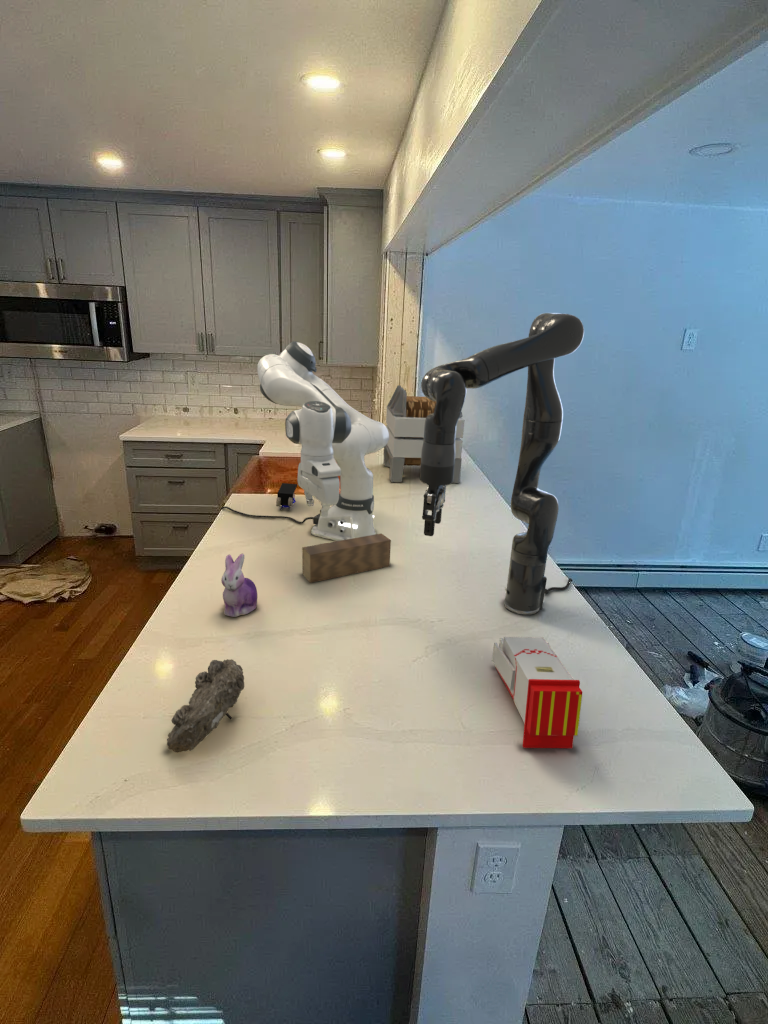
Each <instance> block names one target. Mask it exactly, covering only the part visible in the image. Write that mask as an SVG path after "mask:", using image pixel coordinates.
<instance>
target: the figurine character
mask: <svg viewBox="0 0 768 1024" xmlns="http://www.w3.org/2000/svg"><path fill="white" fill-rule="evenodd" d="M297 487H298V483H286V482H283V483H281V485H280V487H279V489H278V491H277V494H276V495H277V497H276V502H275V503H276V504H275V505H276V507H280V508H279V510H280V511H283V509H287V511H290V509H291V507H293V506H294V504H295V503H296V494H295V492H296V489H297Z"/></svg>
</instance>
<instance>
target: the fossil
mask: <svg viewBox="0 0 768 1024" xmlns="http://www.w3.org/2000/svg"><path fill="white" fill-rule="evenodd" d="M243 670H244V669H243V667H242V665H240V664H237V662H236V661H235V660H234V659H232V658H231V659H227V658H226V659H224V660H223V661H222V660H217V659H212V660H211V661H210V663H209V665H208V666H207V671H201V672H199V673H198V674H197V675H196V676H195V680H194V684H195V685H194V687H195V689H194V690H193V693H192V694H191V697H190V698H189V700H188V704H184V705H182V706H181V707H180V709H177V710H176V711H175V713H174V715H173V716H172V718H171V723H172V724H173V727H172V730H171V731H170V732H168V734H167V738H166V741H167V742H166V745H167V749H168V750H169V751H173V752H174V753H176V754H178V753H182V752H188V751H189V752H192V751H193V750H195V748H196V747H197V746H199V744H200V743H201V742H203V741H204V740H205V739H206V738H207V737H208V736H209V735H210V734H211V733H212V732H214V730H215V729H217V727H218V726H219V724H220V722H221V721H222V720H223V719H224V718H225V716H226V717H227V719H229V720H233V717H232V715H230V714H229V710H230V709H231V708H234V706H235V704H236V703H237V702H238V699H239V697H240V695H241V693H242V691H243V690H245V689H244V688H245V675H244V671H243Z"/></svg>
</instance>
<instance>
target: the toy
mask: <svg viewBox="0 0 768 1024" xmlns="http://www.w3.org/2000/svg"><path fill="white" fill-rule="evenodd" d="M491 662H492V663H493V665H494V667H495V669H496V671H497V673H498V675H499V676H500V678H501V680H502V683H503V684H504V686H505V688H506V689H507V691H508V693H509V695H510V697H511V698H512V700H513V702H514V705H515V707H516V709H517V711H518V713H519V715H520V717H521V719H522V722H523V724H524V725H523V736H522V748H524V749H573V747H574V738H575V736H577V737H578V734H579V725H580V717H581V710H582V709H581V708H582V701H583V700H582V699H583V690H582V689H581V688H580V685H581V681H580V679H574V677H573V676H572V675H571V673H570V672H569V670H568V669H567V668H566V667H565V665H564V664H563V662H562V661H561V660H560V658H559V657H558V656H557V654H556V653H555V651H554V650H553V649H552V647H551V645H550V643H549V642H547V640H546V639H545V637H543V636H542V637H541V636H535V637H534V636H503V637H500V638H499V642H498V643H497V642H494V643H493V649H492V657H491Z"/></svg>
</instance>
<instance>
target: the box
mask: <svg viewBox="0 0 768 1024" xmlns="http://www.w3.org/2000/svg"><path fill="white" fill-rule="evenodd" d="M391 548H392V540H391V539H390V538H389V537H387V536H386V535H385V534H383V533H376V534H375V535H370V536H364V537H358V538H353V539H347V540H341V541H330V542H325V543H320V544H313V545H308V546H302V548H301V551H302V555H301V557H302V559H301V560H302V564H301V565H302V566H301V567H302V570H301V571H302V572H301V573H302V574H301V575H302V576H303V577H304V578H305V579H306V580H307V581H308V582H309V583H310V584H311V583H316V582H322V581H327V580H330V579H336V578H340V577H344V576H349V575H354V574H359V573H365V572H369V571H373V570H378V569H383V568H388V567H390V566H391Z"/></svg>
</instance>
